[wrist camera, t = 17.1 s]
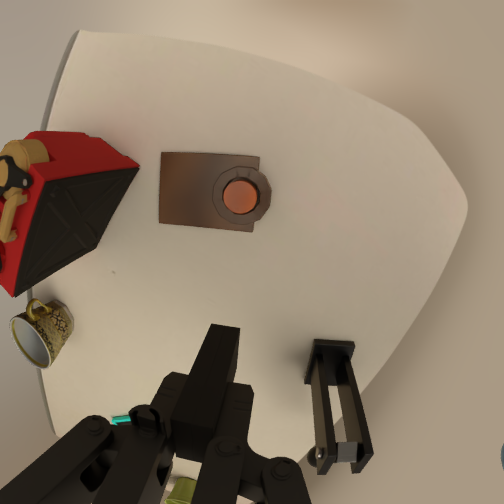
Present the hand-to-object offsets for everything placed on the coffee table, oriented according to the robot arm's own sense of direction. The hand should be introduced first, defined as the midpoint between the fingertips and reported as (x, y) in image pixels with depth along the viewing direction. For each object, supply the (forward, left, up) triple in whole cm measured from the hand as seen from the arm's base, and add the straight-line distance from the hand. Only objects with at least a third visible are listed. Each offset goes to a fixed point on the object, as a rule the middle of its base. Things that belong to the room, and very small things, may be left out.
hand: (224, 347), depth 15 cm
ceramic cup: (+34, +17, -23) cm, 44 cm away
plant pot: (+12, +68, -23) cm, 73 cm away
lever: (-12, +22, -10) cm, 27 cm away
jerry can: (+24, -4, -23) cm, 33 cm away
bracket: (-12, +18, -22) cm, 31 cm away
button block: (+7, -5, -22) cm, 24 cm away
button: (+2, -5, -20) cm, 21 cm away
